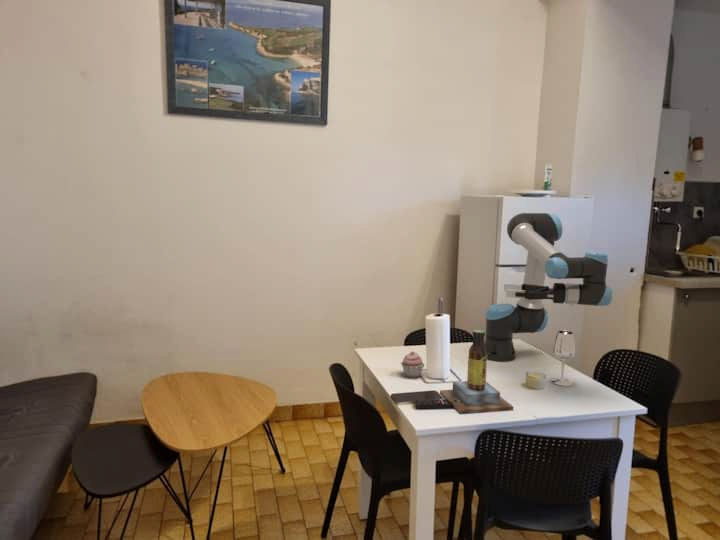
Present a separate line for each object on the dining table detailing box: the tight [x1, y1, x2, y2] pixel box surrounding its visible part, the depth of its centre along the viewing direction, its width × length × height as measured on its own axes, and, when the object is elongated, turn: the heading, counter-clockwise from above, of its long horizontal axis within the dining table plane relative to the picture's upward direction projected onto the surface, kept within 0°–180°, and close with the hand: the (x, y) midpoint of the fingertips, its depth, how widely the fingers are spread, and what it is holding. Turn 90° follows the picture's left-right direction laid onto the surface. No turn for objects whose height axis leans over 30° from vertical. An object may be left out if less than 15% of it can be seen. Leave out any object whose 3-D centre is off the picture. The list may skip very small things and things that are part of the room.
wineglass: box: [551, 330, 576, 387], centre depth 198 cm, size 8×8×20 cm
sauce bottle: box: [466, 329, 488, 390], centre depth 177 cm, size 6×6×20 cm
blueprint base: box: [439, 380, 514, 415], centre depth 179 cm, size 19×18×5 cm
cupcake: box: [400, 350, 425, 379], centre depth 203 cm, size 9×9×10 cm
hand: (504, 290), depth 194 cm, fingers open, 13 cm apart
